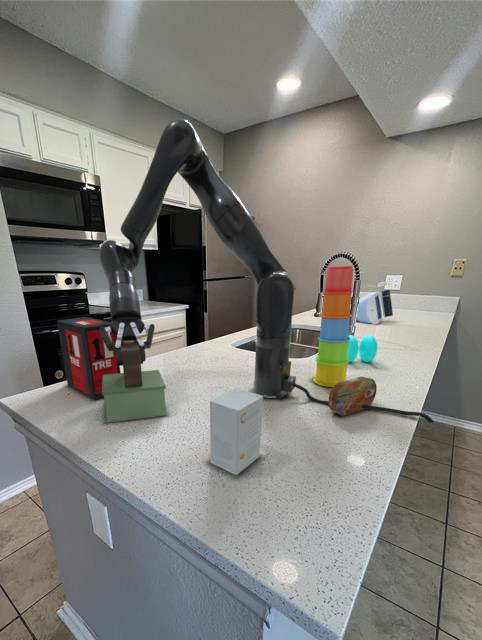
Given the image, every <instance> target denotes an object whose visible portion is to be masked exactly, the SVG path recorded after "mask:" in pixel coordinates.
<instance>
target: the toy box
mask: <svg viewBox="0 0 482 640" xmlns="http://www.w3.org/2000/svg"><path fill="white" fill-rule="evenodd" d="M141 371H142V385H143V386H138V387H128V388H125V380H124V372H120V373H118V374H107V375H103V383H102V395H104V397H103V400H104V407H105V409H104V410H105V415H106V423H107V424H108V423H115V422H121V421H122V422H123V421H130V420H141V419H147V418H155V417H156V418H157V417H162V416H163V417H164V416H166V415H167V412H166V396H165V395H166V394H165V390H166V388H167V387H166V383H165V381H164V379H163V377H162V375H161V372H160V370H159V369H153V370H144V371H143V370H141Z"/></svg>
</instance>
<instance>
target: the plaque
mask: <svg viewBox="0 0 482 640" xmlns="http://www.w3.org/2000/svg"><path fill="white" fill-rule="evenodd" d="M121 351H122V361H123V365H122V373H124V380H125V388H128V387H138V386H143V385H142V371H143V370H142V364H141V359H140V350H139V347H138V344H137V342H136V341H134V340H127V341H123V342H122V343H121Z"/></svg>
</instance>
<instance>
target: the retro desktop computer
mask: <svg viewBox="0 0 482 640" xmlns="http://www.w3.org/2000/svg"><path fill="white" fill-rule="evenodd" d="M387 285H388V282H387V281H381V282H378V283H377V287H378V289H370V290H369V291H368V292H367V293H366V294H365V293H364V292H362V293H363V295H364V296H363V297H361V298H360V299H358V300H359V305H358V311H357V317H356V320H355V321H356V322H360V323H367V324H372V325H378V324H380V323H381V322H382V321H383V317H384V318H388V317H393V316H394V312H393V304H392V297H391V289H389V288H387V289H385V290H380V288H381V287H384V286H387ZM368 286H369V287H371V285H370V284H368ZM373 287H375V285H372V288H373ZM364 288H365V287H363V289H362V290H364ZM370 291H374V292H372V293H369V292H370Z"/></svg>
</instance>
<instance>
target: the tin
mask: <svg viewBox="0 0 482 640" xmlns="http://www.w3.org/2000/svg"><path fill="white" fill-rule="evenodd" d="M377 388H378V387H377V383H376V381H375V380H374V379H373V378H371V377H365V376H358V377H354V378H350V379H347V380H345V381H341V382H339V383H337V384H336V385H334V387H331V389H330V391H329V395H328V401H329V405H328V408H329V410H330V411H332V412H333V413H335V414H338V415H339V416H341V417H343V416H348V415H351V414H354V413H357V412H360V411H363V410H365V409H364V408H362V406H363V405H369V406H372V404H373V402H374V401H375V398H376V396H377V390H378V389H377Z"/></svg>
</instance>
